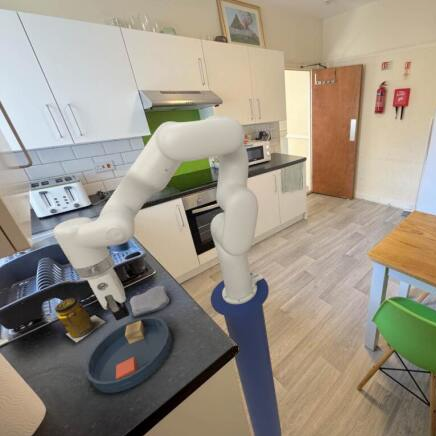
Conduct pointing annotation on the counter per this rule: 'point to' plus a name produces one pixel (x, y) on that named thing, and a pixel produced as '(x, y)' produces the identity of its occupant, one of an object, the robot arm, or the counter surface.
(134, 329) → the maple block
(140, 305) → the stone block
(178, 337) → the counter surface
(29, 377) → the counter surface
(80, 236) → the robot arm
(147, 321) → the bowl
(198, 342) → the counter surface
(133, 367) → the coral block
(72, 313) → the condiment
